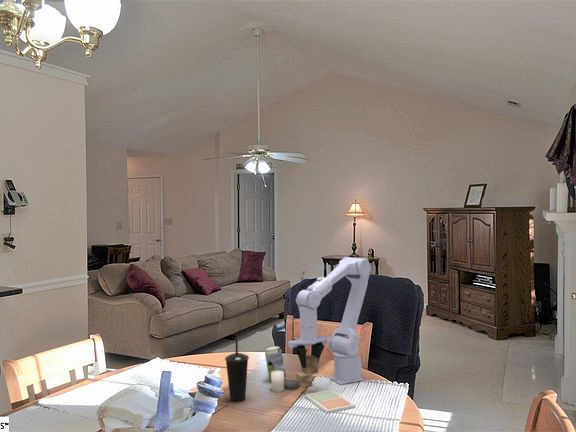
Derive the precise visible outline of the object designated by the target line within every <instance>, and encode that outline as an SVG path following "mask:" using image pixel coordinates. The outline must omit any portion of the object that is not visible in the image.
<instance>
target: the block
mask: <svg viewBox="0 0 576 432" xmlns="http://www.w3.org/2000/svg"><path fill="white" fill-rule="evenodd" d="M318 366H319V363H318V358H317V357H315V356H313V354H310V355H309V354H308V355H306V368H302V367H301V372H304V373H305V374H307V375H308V374H311V375H313V374H317V373H318V374H319V371H318V370H319V367H318Z"/></svg>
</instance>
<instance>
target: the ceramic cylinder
mask: <svg viewBox="0 0 576 432" xmlns="http://www.w3.org/2000/svg"><path fill="white" fill-rule="evenodd" d="M284 381H285V378H284V371H281V370H275V371H272V372H271V380H270V382H271V385H270V386H271V387H270V388H271V391H272V392H274V393H282V392H284V391H285V389H284Z"/></svg>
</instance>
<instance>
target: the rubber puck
mask: <svg viewBox="0 0 576 432" xmlns="http://www.w3.org/2000/svg"><path fill="white" fill-rule="evenodd" d="M299 387H300V386H298V381H297V379H287V380H284V390H287V391H295V390H298V389H299Z"/></svg>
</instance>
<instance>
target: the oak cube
mask: <svg viewBox="0 0 576 432" xmlns="http://www.w3.org/2000/svg"><path fill="white" fill-rule="evenodd" d="M295 376H296V380H297V381H298V386H299V387H300V388H308V387H312V386H313V374H308V375H307V374H305V373H304V372H302V371H300V372H296V375H295Z"/></svg>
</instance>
